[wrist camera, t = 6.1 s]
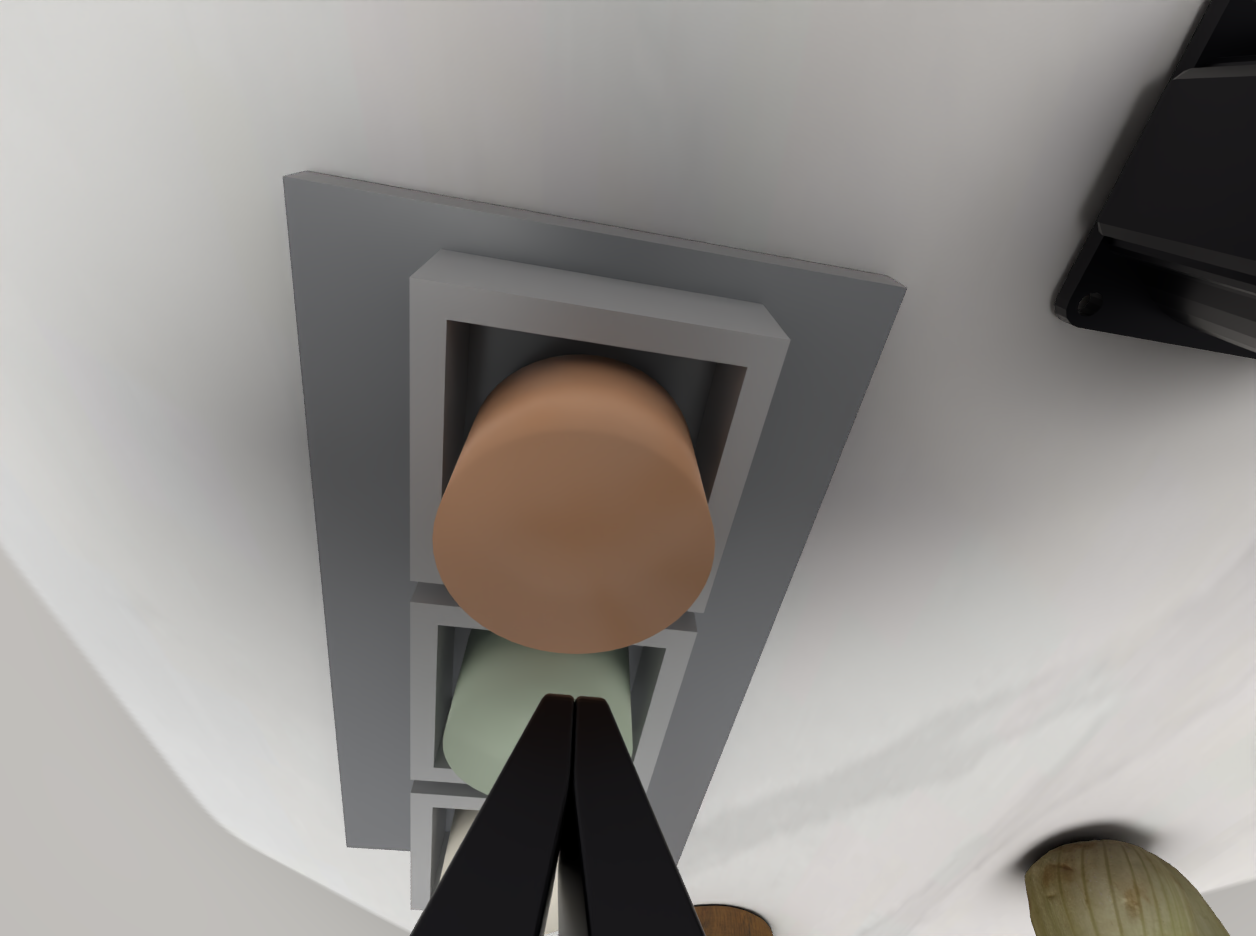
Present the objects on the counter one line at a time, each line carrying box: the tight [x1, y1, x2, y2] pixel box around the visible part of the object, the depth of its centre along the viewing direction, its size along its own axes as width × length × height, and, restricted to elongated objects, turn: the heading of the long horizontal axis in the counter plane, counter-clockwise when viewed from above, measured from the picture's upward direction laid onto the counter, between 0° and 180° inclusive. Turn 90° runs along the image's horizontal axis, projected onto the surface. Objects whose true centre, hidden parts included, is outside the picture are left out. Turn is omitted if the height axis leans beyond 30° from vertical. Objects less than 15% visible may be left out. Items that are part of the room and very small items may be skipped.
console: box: [283, 171, 907, 910], centre depth 17 cm, size 12×22×3 cm, turn 170°
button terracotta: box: [432, 354, 715, 654], centre depth 11 cm, size 4×4×3 cm
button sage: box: [443, 628, 633, 795], centre depth 16 cm, size 4×4×3 cm
